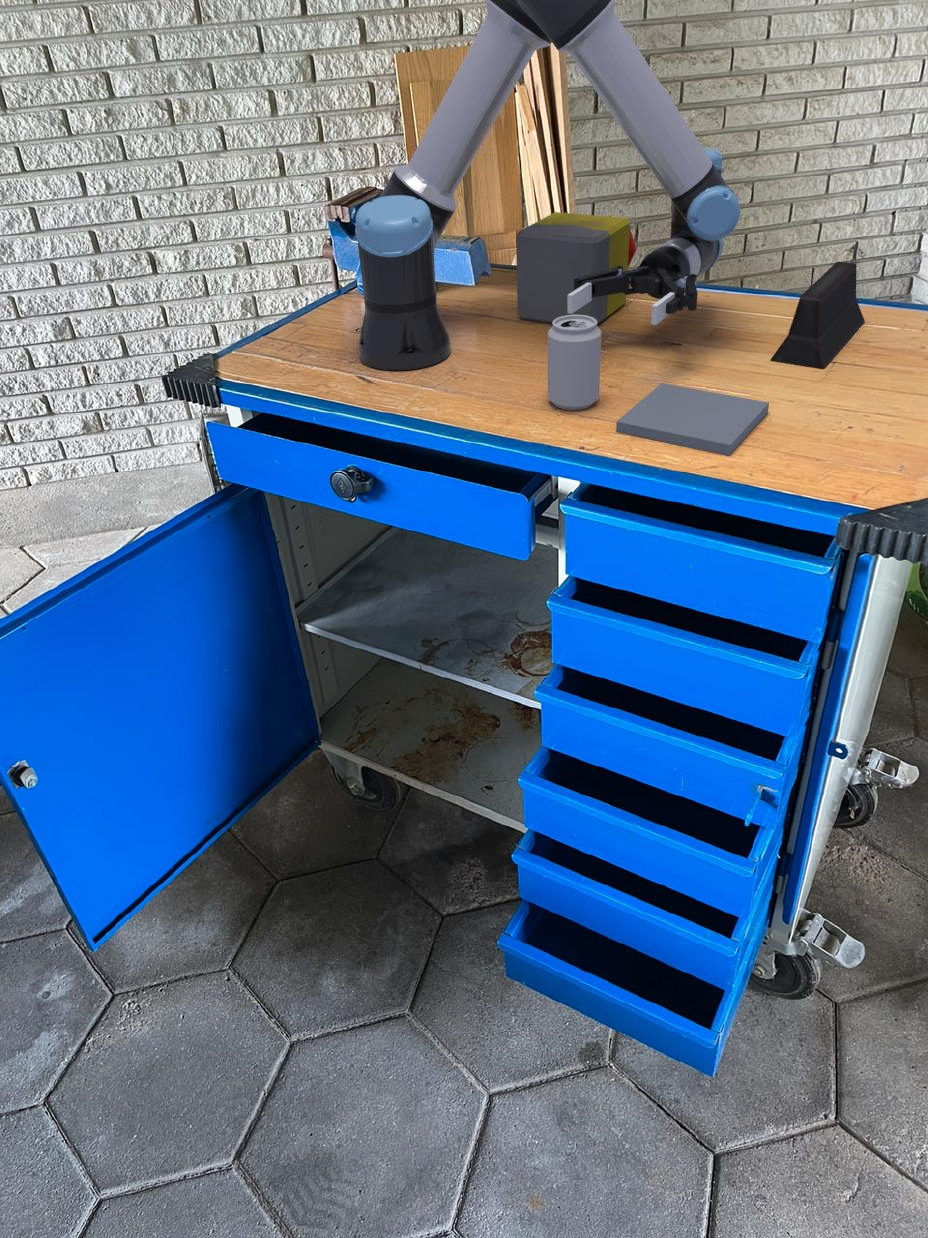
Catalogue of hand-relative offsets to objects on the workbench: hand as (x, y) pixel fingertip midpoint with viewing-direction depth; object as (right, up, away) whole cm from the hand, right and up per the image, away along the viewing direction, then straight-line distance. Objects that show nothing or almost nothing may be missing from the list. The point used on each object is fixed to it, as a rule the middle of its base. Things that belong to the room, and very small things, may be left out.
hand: (610, 309), depth 141 cm
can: (-6, -14, -1) cm, 15 cm away
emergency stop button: (0, +12, +35) cm, 37 cm away
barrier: (+36, -1, +14) cm, 39 cm away
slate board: (+10, -18, -8) cm, 22 cm away
